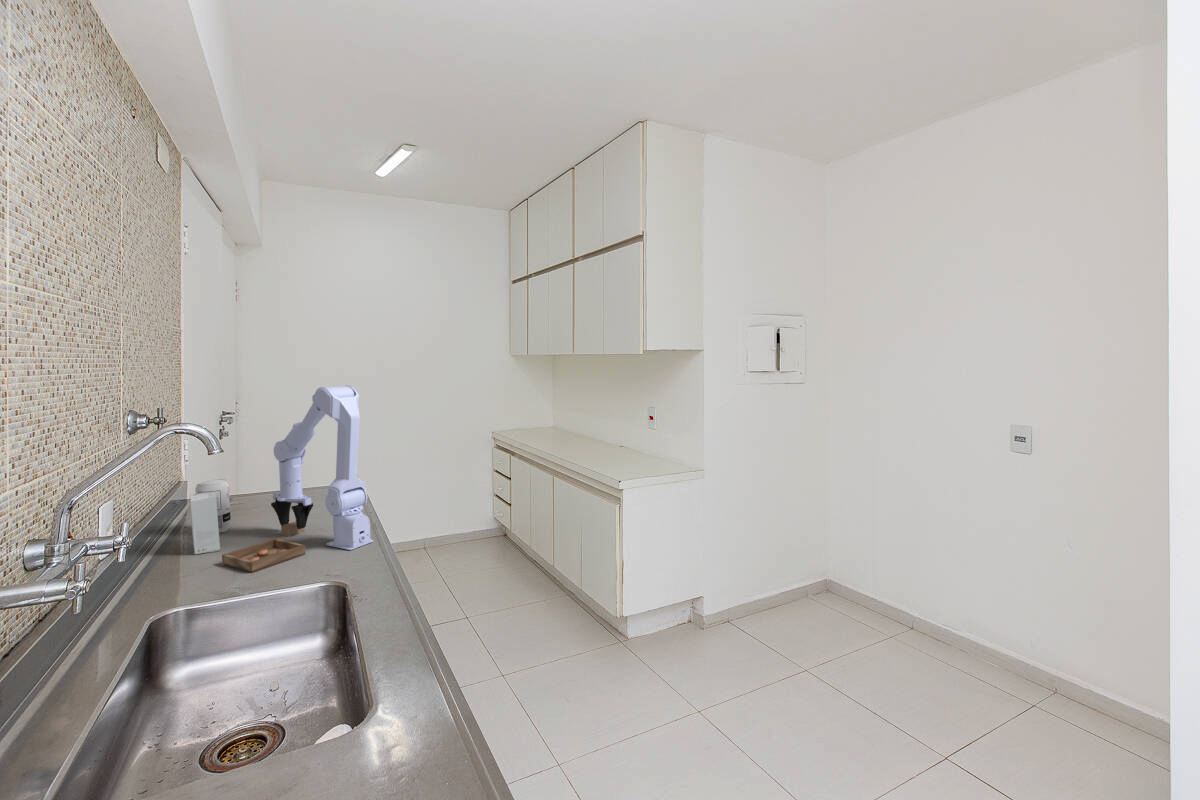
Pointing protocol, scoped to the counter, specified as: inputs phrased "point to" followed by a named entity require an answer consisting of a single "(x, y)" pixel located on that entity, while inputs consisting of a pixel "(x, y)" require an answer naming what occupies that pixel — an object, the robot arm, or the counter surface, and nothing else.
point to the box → (263, 555)
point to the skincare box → (204, 522)
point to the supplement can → (218, 500)
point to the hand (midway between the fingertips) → (293, 526)
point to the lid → (290, 529)
